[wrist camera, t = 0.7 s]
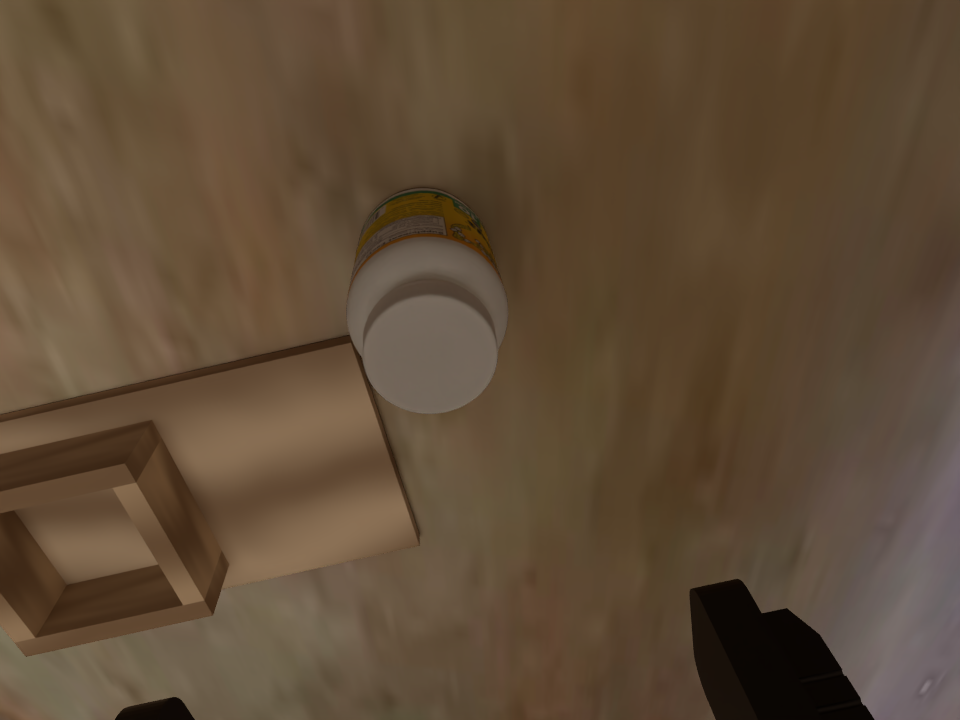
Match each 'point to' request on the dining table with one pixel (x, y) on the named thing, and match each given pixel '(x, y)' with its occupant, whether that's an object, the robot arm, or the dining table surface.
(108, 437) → the wooden stand
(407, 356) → the supplement bottle
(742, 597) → the robot arm
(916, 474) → the dining table surface
